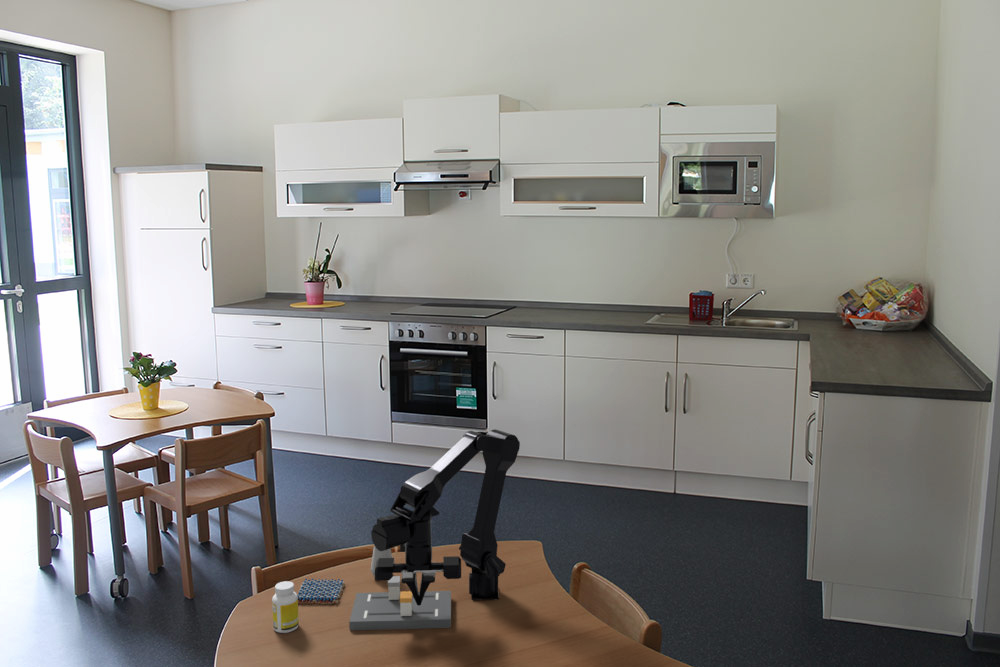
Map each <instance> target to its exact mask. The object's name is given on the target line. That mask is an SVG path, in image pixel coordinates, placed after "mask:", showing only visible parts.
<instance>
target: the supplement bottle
mask: <svg viewBox="0 0 1000 667" xmlns="http://www.w3.org/2000/svg"><path fill="white" fill-rule="evenodd" d="M274 593H275V594H274V595H273V596H272V598H271V599H272V600H271V604H272V608H271V609H272V625H273V630H274V631H275V632H277V633H279V634H280V633H282V634H283V633H284V634H287V633H291V632H293V631H295V630H296V629H297V628H298V627H299V625H300V624H299V621H300V620H299V604H298V602H299V601H298V596H297V595H298V593H297V592H296V591H295V584H294V582H292V581H288V580H285V581H279V582H277V583H276V584H275V586H274Z"/></svg>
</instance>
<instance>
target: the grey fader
mask: <svg viewBox="0 0 1000 667" xmlns="http://www.w3.org/2000/svg"><path fill="white" fill-rule="evenodd" d="M387 587H388V592H389V600H399V598H400V592H401V575H393V577H392V578H391V579H390V580H387Z"/></svg>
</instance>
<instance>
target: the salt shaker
mask: <svg viewBox="0 0 1000 667" xmlns="http://www.w3.org/2000/svg"><path fill="white" fill-rule="evenodd" d="M391 549H392V548H391ZM391 549H388V550H385V551H379V550H378V549H376V547H375V546H374V545H373V550H372V557H371V564H370V572H371V574H372V576H373V577H374V578H375V566H376V561H377V560H378V559H379V558H393V555H392V550H391Z"/></svg>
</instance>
